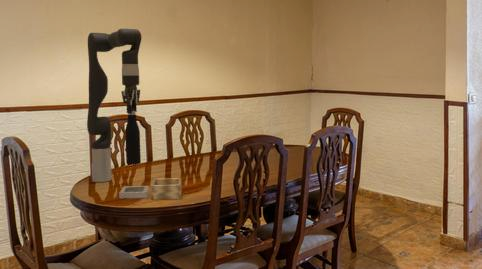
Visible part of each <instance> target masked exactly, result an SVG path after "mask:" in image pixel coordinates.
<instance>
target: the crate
mask: <svg viewBox="0 0 482 269" xmlns="http://www.w3.org/2000/svg"><path fill="white" fill-rule="evenodd" d="M150 193H151V194H150V196H151V198H150V199H151V200H152V201H156V200H158V201H159V200H181V199H182V178H180V177H177V178H153V179H152V182H151V185H150Z"/></svg>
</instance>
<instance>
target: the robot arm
mask: <svg viewBox="0 0 482 269" xmlns="http://www.w3.org/2000/svg"><path fill="white" fill-rule="evenodd" d="M142 38H143V37H142V33H141V31H139V29H137V28H119V29H118V30H117V31H114V32H113V31H112V32H111V33H110V34H109V33H105V32H90V33H89V34H88V37H87V52H88V55H87V56H88V109H87V120H86V122H87V123H86V126H87V127H86V128H87V129H86V130H87V132H88V135H90V136H99V138H97V139H96V140H94V141H92V142H91V182H92V183H93V182H95V183H104V182H105V183H106V182H107V183H108V182H110V181H112V180H113V179H112V176H113V174H112V159H111V158H112V156H111V142H112V124H111V120H110V118H109V117H108V116H98V113H99V109H100V107H101V105H102V103H103V102H104V100H105V99H106V96H107V94H108V92H109V91H108V89H109V87H108V86H109V84H108V83H109V79H108V75H106V72H105V70H104V69H103V68H102V66H101V65H100V62H99V58H98V53H108V52H110V51H112V50H113V49H115V48H121V47H126V46H130V49H128V50H127V49H126V50H123V51H122V53H121V84H122V86H124V90H122V91H121V97H122V101H123V104H125V105H126V114H128V113H132V100H133V97H135V98H136V105H134V107H135V109H134V110H135V113H137V109H138V108H137V105H138V103H139V102H140V95H141V89H138V86H140V68H139V51H140V47H141V44H142ZM130 97H131V98H130ZM129 100H130V101H129Z"/></svg>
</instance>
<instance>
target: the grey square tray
mask: <svg viewBox="0 0 482 269" xmlns="http://www.w3.org/2000/svg"><path fill="white" fill-rule="evenodd" d="M149 192H150V185H132V186H127V185H126V186H122V188H121V190H120V191H119V193H118V196H119V198H118V199H120V200H121V199H124V198H126V199H146V198H148V194H149ZM124 200H125V199H124Z"/></svg>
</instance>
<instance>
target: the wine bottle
mask: <svg viewBox="0 0 482 269" xmlns="http://www.w3.org/2000/svg"><path fill="white" fill-rule="evenodd" d="M130 98H131V97H130ZM129 101H130V100H129ZM134 105H136V106H137V104H136V98H135V97H133V100H132V113H127V123H126V126H125V132H124V133H125V134H124V135H125V157H126V158H125V160H126V164H127V165H130V166H131V165H132V166H133V165H140V164H141V161H142V160H141V134H140V127H139V124H138V122H137V114H136V113H137V112H135V110H134V109H135V107H134Z"/></svg>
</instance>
